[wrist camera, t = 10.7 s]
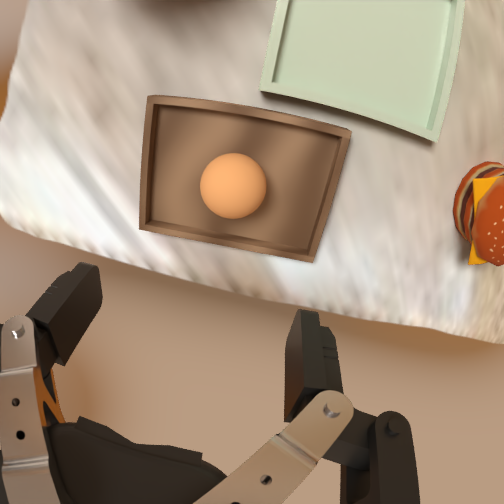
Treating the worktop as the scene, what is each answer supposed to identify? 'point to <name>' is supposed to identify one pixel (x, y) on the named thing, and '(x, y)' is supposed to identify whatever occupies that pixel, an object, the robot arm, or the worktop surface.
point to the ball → (233, 185)
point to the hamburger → (482, 212)
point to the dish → (368, 57)
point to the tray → (254, 146)
